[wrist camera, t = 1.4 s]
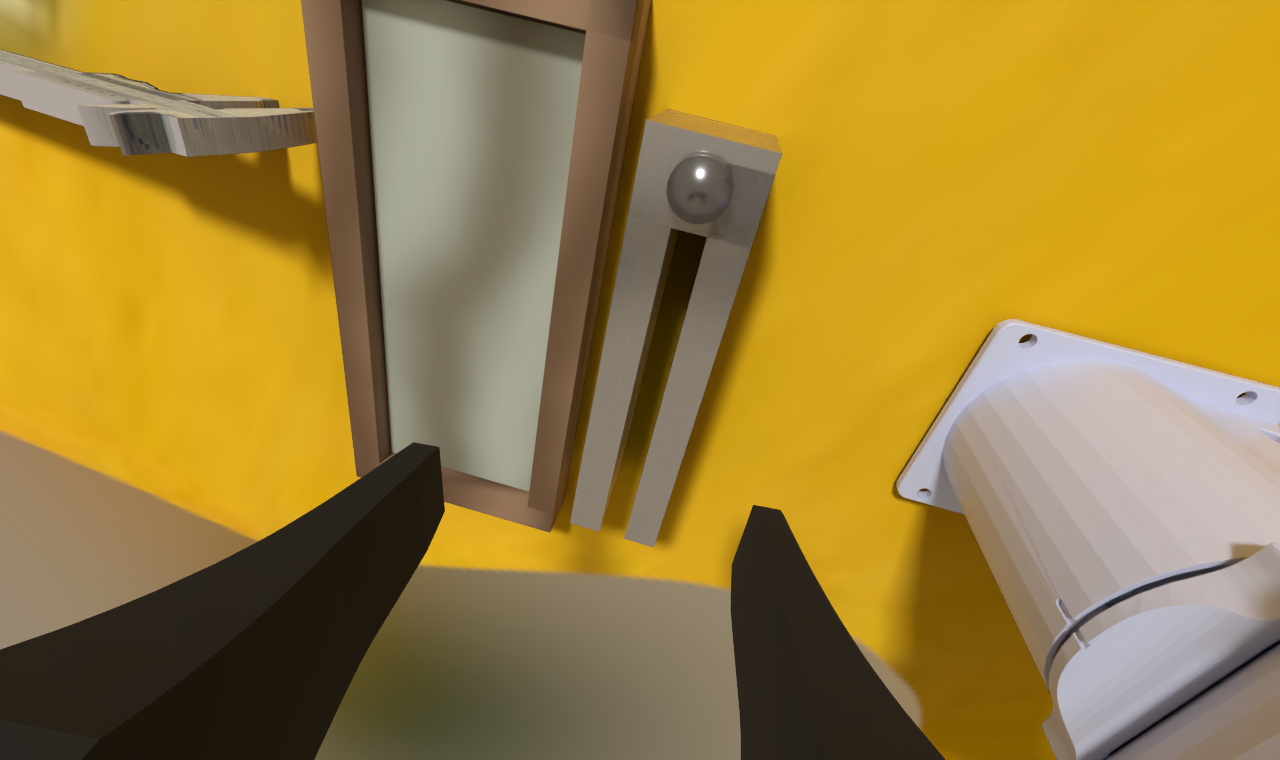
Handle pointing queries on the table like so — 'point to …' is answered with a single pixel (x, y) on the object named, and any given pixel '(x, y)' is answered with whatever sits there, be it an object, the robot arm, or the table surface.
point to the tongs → (660, 206)
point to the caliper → (153, 112)
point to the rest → (472, 225)
